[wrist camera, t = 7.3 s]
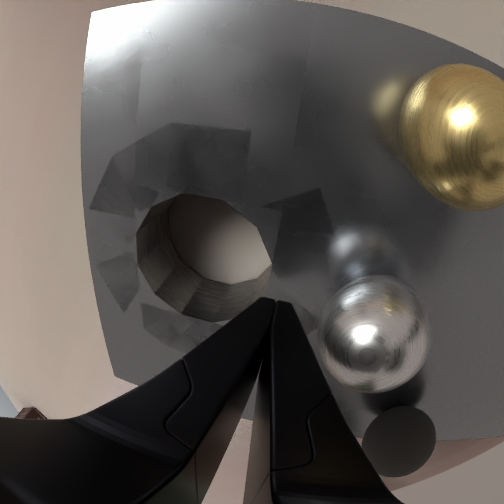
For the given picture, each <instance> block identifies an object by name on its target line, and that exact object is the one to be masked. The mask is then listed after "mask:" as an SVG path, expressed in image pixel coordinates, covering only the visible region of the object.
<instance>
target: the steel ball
mask: <svg viewBox="0 0 504 504" xmlns="http://www.w3.org/2000/svg"><path fill="white" fill-rule="evenodd" d="M432 342H433V321H432V316H431V313H430V310H429V308H428V306H427V304H426V302H425V300H424V298H423V297H422V296H421V294H420V293H419V292H418V291H417V290H416V289H415V288H414V287H412V286H411V285H410V284H408V283H407V282H405V281H403V280H401V279H399V278H396V277H392V276H388V275H369V276H365V277H361V278H358V279H356V280H354V281H351V282H350V283H348V284H346V285H345V286H343V287H342V288H341V289H339V290H338V291H337V292H336V293H335V294H334V295H333V297H332V298H331V299H330V301H329V302H328V303H327V305H326V307H325V308H324V311H323V313H322V315H321V318H320V322H319V326H318V349H319V353H320V356H321V359H322V361H323V363H324V365H325V367H326V368H327V370H328V371H329V373H330V374H331V375H332V376H333V377H334V378H335V379H336V380H337V381H338V382H340V383H341V384H343V385H344V386H346V387H348V388H350V389H352V390H355V391H358V392H363V393H381V392H386V391H390V390H393V389H395V388H398V387H400V386H401V385H403V384H405V383H406V382H408V381H409V380H410V379H411V378H413V377H414V376H415V375H416V374H417V372H418V371H419V370H420V369H421V367H422V366H423V365H424V363H425V361H426V359H427V357H428V355H429V352H430V350H431V346H432Z"/></svg>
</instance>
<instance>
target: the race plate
mask: <svg viewBox="0 0 504 504" xmlns="http://www.w3.org/2000/svg"><path fill="white" fill-rule="evenodd" d="M459 63H460V64H469V65H473V66H476V67H480V68H482V69H485V70H487V71H489V72H491V73H492V74H494V75H496V76H497V77H499V78H500V79H501V80H503V81H504V68H502V67H500V66H498V65H497V64H495V63H493V62H491V61H489V60H487V59H485V58H483V57H481V56H479V55H477V54H475V53H473V52H471V51H469V50H467V49H465V48H463V47H461V46H458V45H456V44H454V43H451V42H449V41H447V40H444V39H442V38H439V37H437V36H434V35H432V34H429V33H427V32H424V31H421V30H418V29H416V28H413V27H410V26H407V25H404V24H401V23H397V22H394V21H391V20H387V19H384V18H380V17H377V16H373V15H369V14H365V13H361V12H357V11H352V10H348V9H343V8H338V7H333V6H328V5H322V4H316V3H309V2H302V1H294V0H157V1H149V2H142V3H135V4H129V5H123V6H118V7H113V8H108V9H103V10H99V11H95V12H92V15H91V21H90V27H89V33H88V40H87V48H86V56H85V65H84V76H83V89H82V107H81V175H82V193H83V207H84V218H85V228H86V237H87V245H88V253H89V260H90V266H91V273H92V279H93V285H94V290H95V296H96V301H97V306H98V311H99V315H100V320H101V325H102V329H103V333H104V337H105V342H106V346H107V350H108V353H109V357H110V361H111V364H112V368H113V372H114V375H115V376H116V377H118V378H120V379H123V380H125V381H128V382H130V383H133V384H135V385H138V386H140V385H141V384H143V383H145V382H147V381H148V380H150V379H152V378H153V377H155V376H156V375H158V374H159V373H161V372H162V371H164V370H165V369H167V368H168V367H170V366H171V365H172V364H174V363H175V362H176V361H178V360H179V359H182V357H183V356H184V355H186V354H187V353H188V352H190V351H191V350H192V349H194V348H195V347H196V346H198V345H199V344H200V343H202V342H203V341H204V340H206V339H207V338H208V337H210V336H211V335H212V334H213V333H215V332H216V331H217V330H219V329H220V328H221V327H223V326H224V325H225V324H226V323H228V322H229V321H230V320H232V319H233V318H234V317H235V316H237V315H238V314H239V313H240V312H242V311H243V310H244V309H246V308H247V307H248V306H249V305H251V304H252V303H253V302H254V301H256V300H257V299H258V298H259V297H262V296H263V297H267V298H272V299H275V301H277V300H281V301H286V302H290V303H292V305H293V307H294V309H295V311H296V313H297V315H298V318H299V320H300V322H301V324H302V326H303V328H304V331H305V333H306V335H307V337H308V339H309V342H310V344H311V346H312V348H313V350H314V353H315V355H316V357H317V359H318V361H319V364H320V366H321V368H322V370H323V372H324V375H325V377H326V379H327V381H328V384H329V386H330V388H331V390H332V394H333V395H334V397H335V399H336V401H337V403H338V406H339V408H340V410H341V412H342V414H343V416H344V418H345V420H346V422H347V424H348V426H349V427H350V429H351V431H352V433H353V434H354V436H355V437H358V438H363V437H364V434H365V431H366V429H367V428H368V426H369V425H370V423H371V422H372V421H373V420H374V419H375V418H376V417H377V416H378V415H380V414H381V413H382V412H384V411H386V410H388V409H391V408H394V407H398V406H411V407H415V408H418V409H420V410H422V411H423V412H425V413H426V414H427V415H428V416H429V417H430V419H431V420H432V422H433V424H434V426H435V430H436V441H443V440H466V439H480V438H491V437H500V436H503V435H504V205H502V206H500V207H498V208H495V209H492V210H488V211H483V212H471V211H463V210H459V209H456V208H453V207H451V206H448V205H446V204H444V203H442V202H441V201H439V200H437V199H436V198H435V197H433V196H432V195H431V194H430V193H428V192H427V191H426V190H425V189H424V188H423V187H422V185H421V184H420V183H419V182H418V180H417V179H416V178H415V177H414V175H413V173H412V172H411V170H410V168H409V166H408V164H407V162H406V160H405V157H404V154H403V151H402V147H401V143H400V136H399V119H400V112H401V108H402V104H403V102H404V99H405V97H406V95H407V93H408V92H409V90H410V88H411V87H412V86H413V84H414V83H415V82H416V81H417V80H418V79H419V78H420V77H421V76H422V75H424V74H425V73H427V72H428V71H430V70H432V69H434V68H437V67H439V66H442V65H446V64H459ZM182 193H187V194H193V195H198V196H204V197H210V198H215V199H221V200H224V201H225V202H226V203H228V204H229V205H230V206H231V207H233V208H234V209H235V210H236V211H238V212H239V213H240V214H241V215H243V216H244V217H245V218H246V219H248V220H249V221H250V222H251V223H253V224H254V225H255V226H256V227H257V228H258V231H259V233H260V235H261V238H262V240H263V243H264V245H265V247H266V250H267V252H268V255H269V257H270V259H271V262H272V264H271V265H270V266H269V267H268V268H267V269H266V270H265V271H264V272H263V273H262V274H261V275H260V276H259V277H258V278H257V279H253V280H249V281H245V282H241V283H237V284H232V285H229V284H225V283H221V282H217V281H212V280H208V279H204V278H202V277H201V276H200V275H198V274H197V273H196V272H194V271H193V270H192V269H191V268H189V267H188V266H187V265H186V264H184V263H183V262H182V261H181V260H180V258H179V257H178V255H177V253H176V251H175V249H174V247H173V245H172V243H171V241H170V239H169V237H168V207H169V206H170V204H171V203H172V201H173V200H174V198H175V197H176V196H177V195H179V194H182ZM369 275H388V276H392V277H396V278H399V279H401V280H403V281H405V282H407V283H408V284H410V285H411V286H412V287H414V288H415V289H416V290H417V291H418V292H419V293H420V294H421V296H422V297H423V298H424V300H425V302H426V304H427V306H428V308H429V310H430V313H431V316H432V321H433V342H432V346H431V350H430V352H429V355H428V357H427V359H426V361H425V363H424V365H423V366H422V367H421V369H420V370H419V371H418V372H417V374H416V375H415V376H414V377H413V378H411V379H410V380H409V381H408V382H406V383H405V384H403V385H401V386H400V387H398V388H395V389H393V390H390V391H386V392H381V393H363V392H358V391H355V390H352V389H350V388H348V387H346V386H344V385H343V384H341V383H340V382H338V381H337V380H336V379H335V378H334V377H333V376H332V375H331V374H330V373H329V371H328V370H327V368H326V367H325V365H324V363H323V361H322V359H321V356H320V353H319V349H318V326H319V322H320V318H321V315H322V313H323V311H324V308H325V307H326V305H327V303H328V302H329V301H330V299H331V298H332V297H333V295H334V294H335V293H336V292H337V291H338V290H339V289H341V288H342V287H343V286H345V285H346V284H348V283H350V282H351V281H354V280H356V279H358V278H361V277H365V276H369ZM275 304H276V303H275ZM262 359H263V358H262ZM261 363H262V362H261ZM260 367H261V366H260ZM259 372H260V370H259ZM258 376H259V374H258ZM257 383H258V377H257V380H256V382H255V385H254V387H253V390H252V392H251V395H250V397H249V399H248V402H247V404H246V406H245V409H244V411H243V413H242V416H241V418H244V419H249V420H253V418H254V409H255V400H256V392H257Z"/></svg>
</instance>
